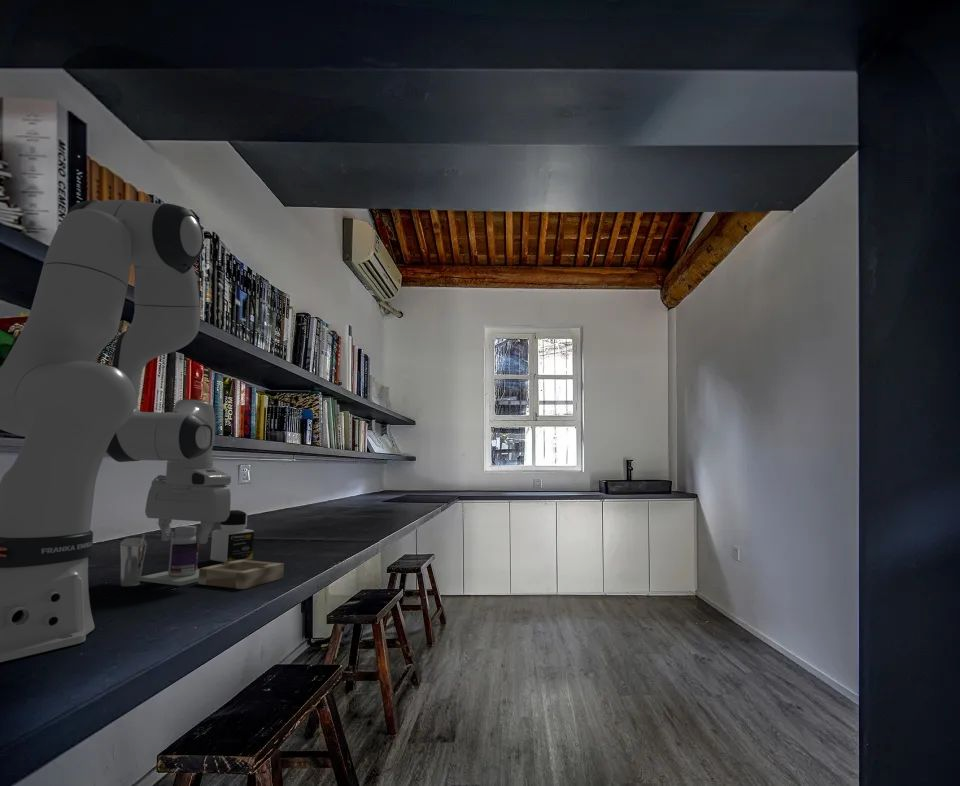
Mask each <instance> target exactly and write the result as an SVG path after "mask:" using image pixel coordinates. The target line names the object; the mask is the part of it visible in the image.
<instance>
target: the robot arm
mask: <svg viewBox="0 0 960 786" xmlns="http://www.w3.org/2000/svg"><path fill="white" fill-rule="evenodd" d="M203 247H204V233H203V228H202V225H201V223H200V221H199V219H198V218H197V217H196V216H195V214H194V213H193V211H191V210H190V209H188V208H186V207H183V206H181V205H177V204H173V203H167V202H166V203H163V204H161V203H155V202H149V201H137V200H134V199H109V200H99V199H89V200H84V201H79V202H78V203H75V204H74V205H72V206H71V207H70V208H69V210H68V211H67V213H66V215H64V217H63V218H62V220H61V222H60V224H59V225H58V227H57V229H56V231H55V233H54V235H53V237H52V239H51V242H50V244H49V246H48V249H47V252H46V255H45V257H44V258H45V259H44V261H43V265H42V269H41V271H40V272H41V273H40V276H39V280H38V283H37V286H36V291H35V294H34V297H33V302H32V305H31V310H30V312H29V314H28V317H27V319H26V321H25V323H24V326H23V327H22V330H21V331H20V333H19V335H18V337H17V338H16V341H15V343H14V345H13V346H12V348H11V350H10V351H9V353H8V355H7V357H6V358H5V360H4V362H3V364H2V365H1V367H0V430H1V431H4V432H6V433H10V434H13V435H16V436H19V437H24V440H23V443H22V445H21V448H20V450H19V452H18V455H17V457H16V459H15V460H14V462H13V464H12V465H11V467H10V468H8V470H7V471H6V472H5V473H4V474H3V475H2V476H1V479H0V663H3V662H6V661H11V660H16V659H20V658H24V657H28V656H32V655H36V654H41V653H45V652H49V651H54V650H57V649H61V648H65V647H66V648H67V647H69V646H74V645H77V644H81V643H84V642H86V639H87V635H88V634H89V633H90V632H92V631H94V629H95V628H96V627H95V622H94V619H93V615H92V609H91V603H90V593H89V564H90V561H91V557H92V553H93V539H94V531H92V530H91V526H92V525H91V522H92V515H93V507H94V505H93V504H94V496H95V488H96V484H97V483H96V482H97V478H98V474H99V472H100V469H101V464H102V462H103V460H104V458H105V457H104V456H105V454H107V455H108V456H109V457H110V458H111V459H113V460H114V461H116V462H118V463H125V462H126V463H127V462H128V463H129V462H139V461H162V462H163V461H166V470H165V471H166V472H165V475H163V474H159V475H157V476H156V477H154V479H153V480H152V481H151V485H150V488H149V489H148V493H147V497H146V498H147V499H146V503H145V509H144V513H145V516H146V518H147V519H156V520H158V521H157V522H158V523H157V524H158V527H159V529H160V532H161V541H163V542H164V541H165V542H169V541H170V542H171V540H172V539H173V538H175V537H174V535H175V531H172V529H171V525H170V524H172V521H186V522H200V525H199V526H200V528H201V530H200V532H199V534H195V537H196V543H197V544H199V545H204V544H207V543H208V539H209V535H210V533H211V531H212V530H213V527H214V524H215V523H221V522H223V521H226V520H227V518H228V517H229V515H230V510H231V503H232V501H231V498H232V497H231V489H230V487H228V486H229V485H230V484H231V482H232V477H231V475H230V474H228V473H227V472H224V471H222V470H220V469H218V468H215V467H213V466H214V459H213V453H212V452H213V447H214V445H215V441H216V415H215V408H214V405H212V404H211V403H210V402H207V401H205V400H200V399H194V398H185V399H179V400H177V401H176V402H175V404H174V407H173V410H172V411H171V412H169V411H167V412H162V411H161V412H160V411H159V412H158V411H157V412H156V411H153V412H151V411H142V410H140V408H139V407H138V403H139V395H140V388H141V387H140V386H141V380H142V372H143V370H144V367H145V366H146V365H147V364H148V363H149V362H151V361H152V360H153V359H156V358H159V357H161V356H164V355H168V354H170V353H173V352H176V351H179V350H181V349H182V348H184V347H186V346H188V345H190V343H192V342H193V340H194V339H195V338H196V337H197V335H198V333H199V331H200V326H201V325H200V324H201V307H200V306H201V305H200V293H199V286H198V285H199V284H198V280H197V275H196V270H195V266H194V264H195V263H196V262H197V260H198V259H199V257H200V255H201V254H202V252H203ZM132 266H133V268H134V270H135V272H134V284H133V285H134V289H133V291H134V292H133V297H134V299H133V300H134V303H133V304H134V313H133V317H132V320H131V323H130V326H129V327H128V329H127V330H125V331H123V332H121V333H120V334H119V336H118V338H117V340H116V343H115V346H114V347H115V349H114V352H113V359H112V366H111V365H107V364H104V363H99V362H96V360H97V359H98V357H99V355H100V354H101V353H102V351H103V350H104V349H105V348H106V347H107V345H109V343H111V342H112V341H113V340H114V338H116V335H117V334H118V331H119V329H120V324H121V323H120V322H121V318H122V314H123V309H124V305H125V300H126V297H127V296H126V295H127V292H128V286H129V281H130V276H131V267H132Z"/></svg>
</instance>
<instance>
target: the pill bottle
mask: <svg viewBox="0 0 960 786" xmlns="http://www.w3.org/2000/svg"><path fill="white" fill-rule="evenodd" d="M196 532H197V526H195V525H194V526H193V525H183V526H176V527H175V528H174V535H175V537H174V538H173V539H172V540H171V541H170V543H169V544H170V545H169V555H168V569H167V571H168V574H169V575H170V576H188V575H193V574H195V573H196V572H197V569H198V563H199V561H198V559H199V549H200V548H199V546H200V544H197V543H196V535H197V533H196Z"/></svg>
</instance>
